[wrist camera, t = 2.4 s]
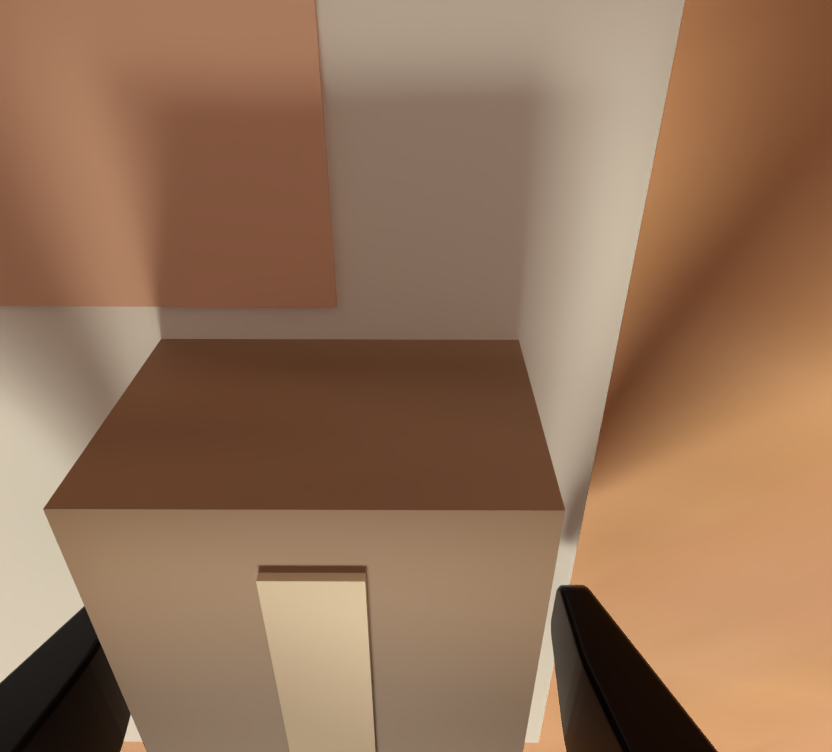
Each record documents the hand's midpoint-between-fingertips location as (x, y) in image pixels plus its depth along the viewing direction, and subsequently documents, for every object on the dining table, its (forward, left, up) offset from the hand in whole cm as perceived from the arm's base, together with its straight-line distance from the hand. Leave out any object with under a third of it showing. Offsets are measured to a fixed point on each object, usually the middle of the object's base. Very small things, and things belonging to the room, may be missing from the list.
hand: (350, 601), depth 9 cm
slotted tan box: (0, 0, -1) cm, 1 cm away
